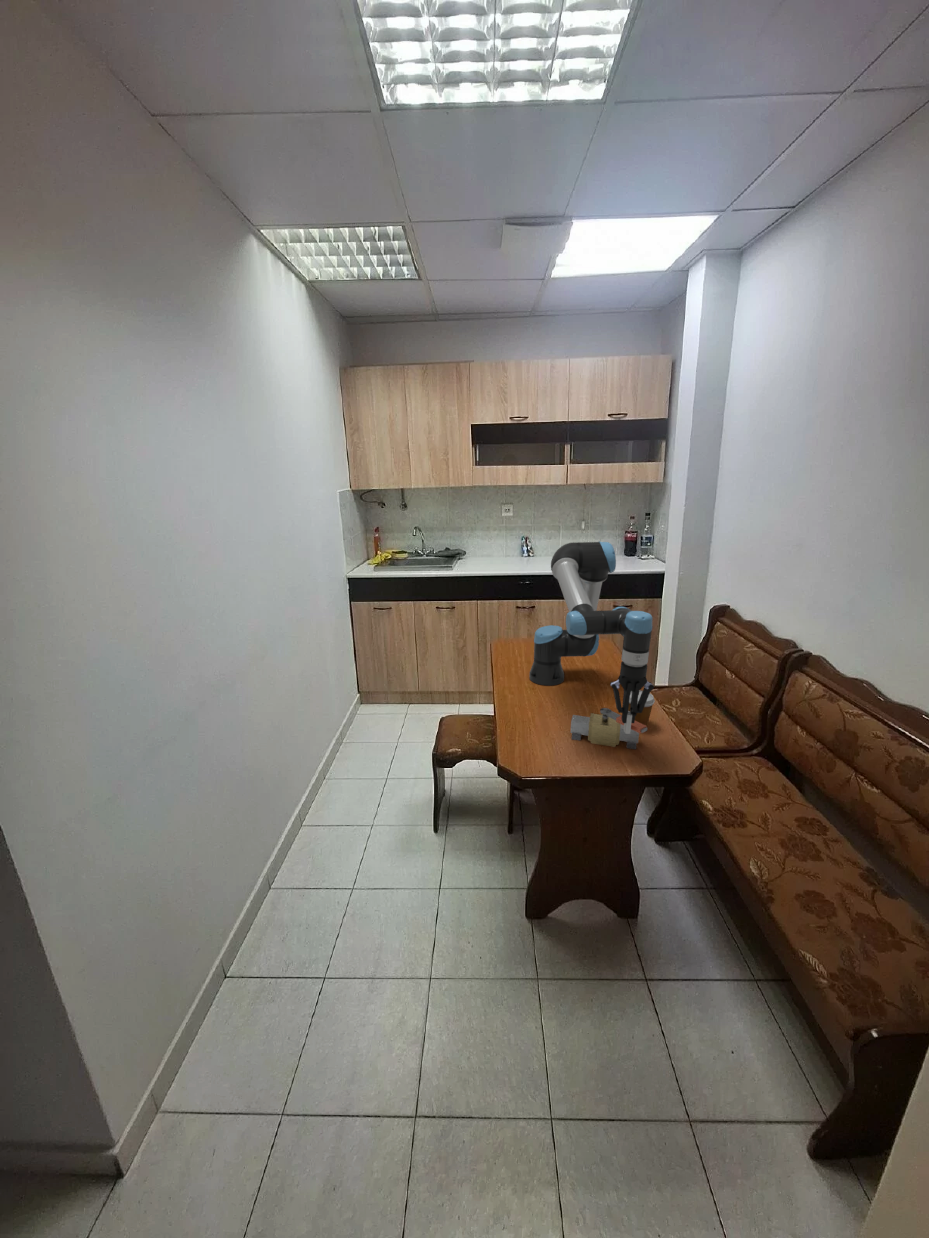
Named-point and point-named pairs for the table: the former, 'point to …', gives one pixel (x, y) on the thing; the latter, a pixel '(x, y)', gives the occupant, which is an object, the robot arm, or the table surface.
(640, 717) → the disposable coffee cup
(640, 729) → the lever
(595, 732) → the bar with tan sleeve
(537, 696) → the table surface
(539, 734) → the table surface
